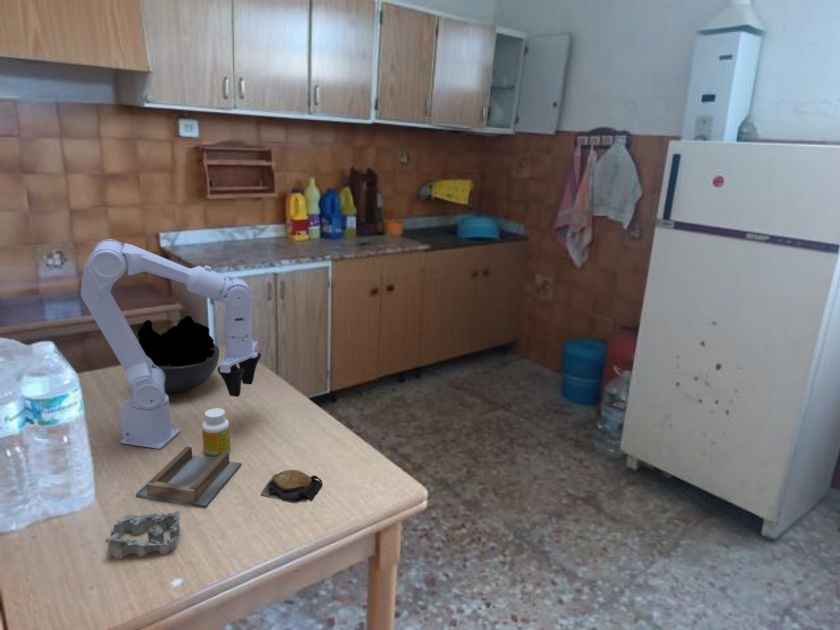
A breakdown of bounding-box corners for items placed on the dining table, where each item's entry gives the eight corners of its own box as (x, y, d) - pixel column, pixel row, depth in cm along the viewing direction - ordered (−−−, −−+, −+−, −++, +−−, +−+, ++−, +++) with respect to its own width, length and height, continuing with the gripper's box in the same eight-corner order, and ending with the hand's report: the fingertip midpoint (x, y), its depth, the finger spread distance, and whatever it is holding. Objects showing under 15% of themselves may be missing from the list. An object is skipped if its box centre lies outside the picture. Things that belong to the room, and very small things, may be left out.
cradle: (136, 496, 109) (134, 482, 108) (179, 456, 122) (177, 443, 121) (205, 508, 107) (204, 493, 106) (241, 465, 120) (240, 452, 119)
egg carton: (104, 562, 93) (101, 541, 92) (118, 531, 100) (116, 511, 99) (174, 557, 95) (172, 536, 94) (184, 526, 102) (182, 507, 101)
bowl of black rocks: (236, 379, 159) (233, 314, 153) (189, 411, 140) (183, 339, 134) (173, 367, 163) (168, 304, 158) (120, 397, 145) (112, 326, 139)
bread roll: (258, 499, 111) (257, 483, 110) (276, 474, 119) (275, 459, 118) (311, 508, 109) (311, 491, 108) (325, 482, 117) (325, 466, 116)
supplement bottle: (222, 461, 121) (219, 420, 118) (198, 457, 122) (195, 416, 119) (235, 448, 126) (233, 408, 123) (212, 444, 127) (210, 404, 124)
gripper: (240, 347, 121) (243, 405, 125) (269, 325, 134) (270, 378, 139) (209, 343, 122) (212, 401, 126) (240, 321, 135) (243, 375, 140)
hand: (241, 389), depth 132 cm, fingers open, 6 cm apart
